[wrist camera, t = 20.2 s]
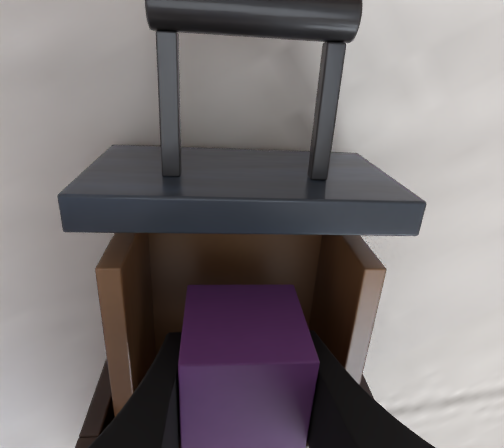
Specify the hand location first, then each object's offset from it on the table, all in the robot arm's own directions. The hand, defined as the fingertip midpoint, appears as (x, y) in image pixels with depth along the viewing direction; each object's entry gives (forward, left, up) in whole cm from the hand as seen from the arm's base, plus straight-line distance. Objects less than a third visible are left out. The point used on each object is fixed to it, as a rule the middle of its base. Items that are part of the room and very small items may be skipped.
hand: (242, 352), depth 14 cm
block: (0, 0, -1) cm, 1 cm away
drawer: (-1, +2, -6) cm, 7 cm away
